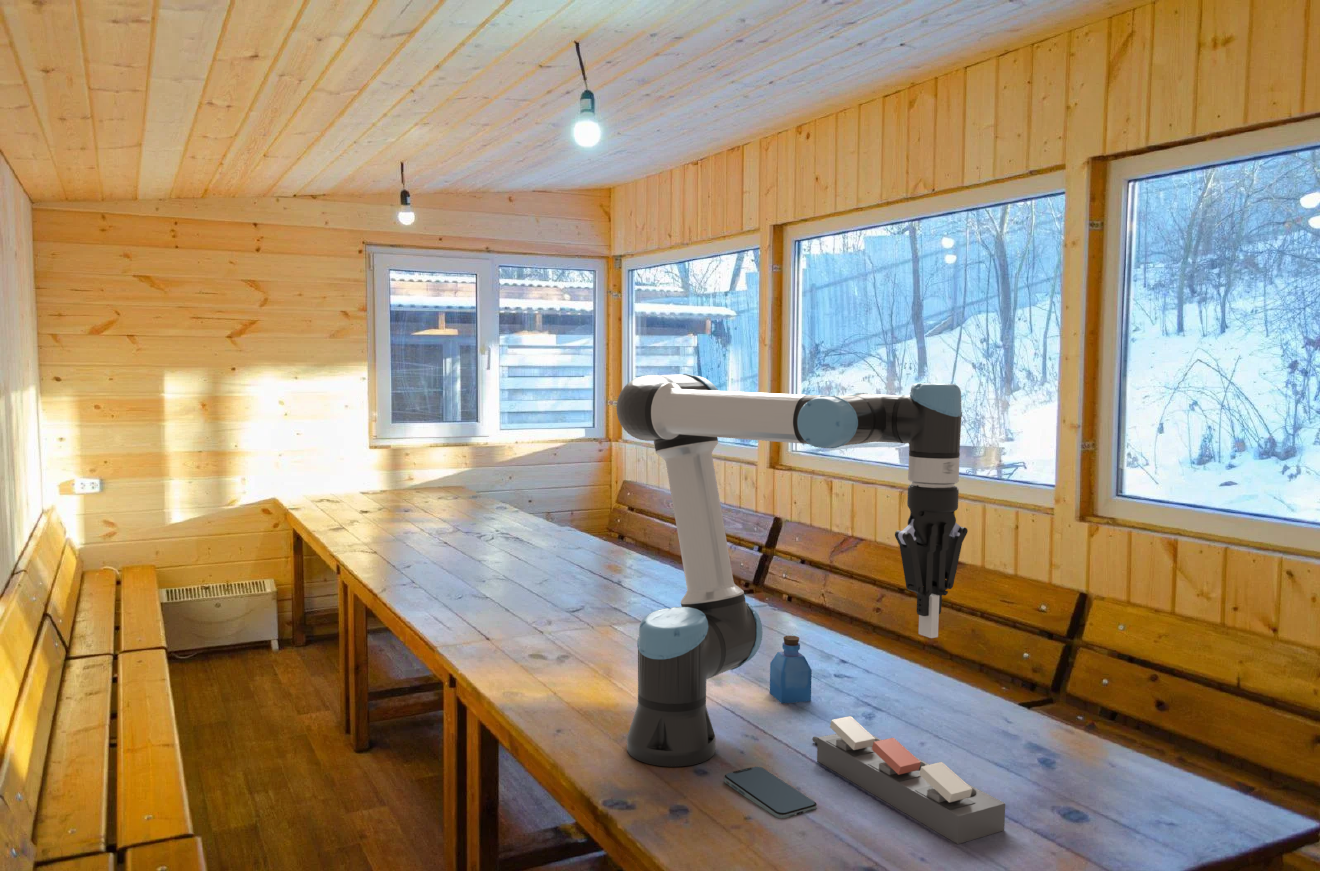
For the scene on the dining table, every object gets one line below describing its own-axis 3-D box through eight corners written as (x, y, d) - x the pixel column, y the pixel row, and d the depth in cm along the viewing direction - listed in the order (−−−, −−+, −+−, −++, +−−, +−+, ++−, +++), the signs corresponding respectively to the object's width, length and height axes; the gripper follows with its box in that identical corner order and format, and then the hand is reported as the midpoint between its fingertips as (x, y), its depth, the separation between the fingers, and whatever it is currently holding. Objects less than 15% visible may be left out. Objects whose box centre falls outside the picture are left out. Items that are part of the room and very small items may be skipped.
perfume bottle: (781, 703, 194) (782, 643, 193) (769, 693, 200) (770, 634, 199) (810, 701, 196) (812, 640, 195) (798, 690, 202) (799, 632, 201)
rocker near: (970, 796, 143) (972, 788, 142) (949, 802, 141) (951, 794, 140) (939, 769, 148) (941, 761, 148) (919, 774, 146) (921, 766, 146)
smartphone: (779, 814, 145) (721, 773, 158) (779, 825, 146) (720, 783, 158) (820, 803, 149) (760, 764, 162) (819, 814, 149) (759, 774, 162)
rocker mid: (918, 769, 152) (920, 761, 151) (898, 774, 150) (900, 766, 150) (891, 745, 157) (893, 737, 157) (871, 749, 155) (873, 741, 155)
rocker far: (873, 745, 161) (875, 738, 161) (853, 750, 159) (855, 742, 159) (849, 723, 166) (850, 715, 166) (829, 727, 165) (831, 719, 164)
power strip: (1004, 830, 143) (1005, 796, 142) (957, 844, 139) (958, 809, 138) (833, 737, 177) (834, 709, 177) (792, 746, 173) (792, 718, 172)
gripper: (918, 489, 147) (912, 647, 148) (982, 484, 153) (977, 636, 155) (883, 483, 153) (879, 634, 155) (947, 479, 159) (942, 624, 161)
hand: (928, 635), depth 155 cm, fingers closed
